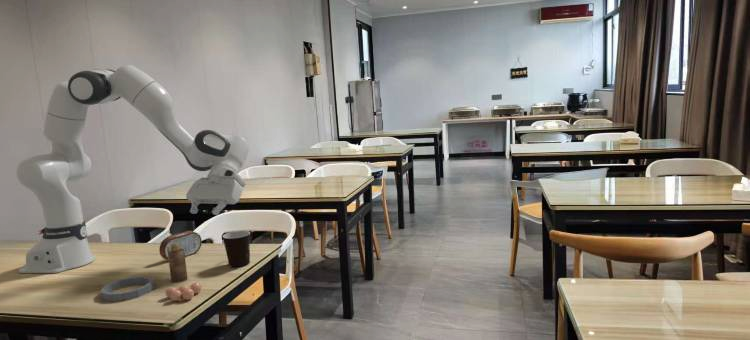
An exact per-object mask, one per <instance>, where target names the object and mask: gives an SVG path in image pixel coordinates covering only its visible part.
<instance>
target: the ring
mask: <svg viewBox="0 0 750 340" xmlns="http://www.w3.org/2000/svg"><path fill="white" fill-rule="evenodd" d="M133 285H143V286H140V287H138V288H136V289H131V290H128V291H127V290H126V291H119V292H112V291H115V290H117V289H120V288H124V287H127V286H128V287H129V286H133ZM153 289H155V281H154V279H153V277H152V276H148V275H147V276H145V275H139V276H131V277H126V278H121V279H118V280H114V281H112V282H109V283H107V284H106V285H104V286H103V287H101V297H102V300H103V301H107V302H121V301H122V302H123V301H127V300H131V299H136V298H140V297H142V296H144V295H146V294H149V293H151V292H152V291H153Z"/></svg>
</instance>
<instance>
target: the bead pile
mask: <svg viewBox="0 0 750 340" xmlns="http://www.w3.org/2000/svg"><path fill="white" fill-rule="evenodd" d="M201 290H202V285H201V284H200V283H199V282H193V283H192V284H190V287H189V286H188V285H186V284H182V285H180V286H179V287H178V288H176V287H175V286H169V287H167V288H166V289H165V296H166V297H167V298H169V299H170V300H171V301H173V302H178V301H180V300H182V298H183V299H184V300H185V301H186V300H187V301H189V300H191V299H193V298H194V296H195V294H196V295H197V294H199V293H200V292H201Z"/></svg>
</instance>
